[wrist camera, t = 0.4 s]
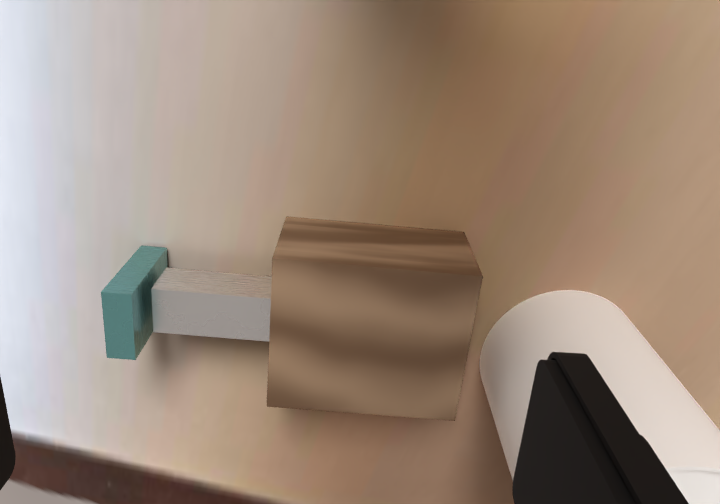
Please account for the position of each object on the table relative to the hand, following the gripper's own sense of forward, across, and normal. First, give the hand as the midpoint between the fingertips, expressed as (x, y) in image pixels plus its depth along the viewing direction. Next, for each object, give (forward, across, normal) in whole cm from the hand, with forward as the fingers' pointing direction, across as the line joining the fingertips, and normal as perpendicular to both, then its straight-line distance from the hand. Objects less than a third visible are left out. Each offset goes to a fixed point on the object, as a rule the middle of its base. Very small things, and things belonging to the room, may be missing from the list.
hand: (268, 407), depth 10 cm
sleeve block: (+36, -3, +15) cm, 39 cm away
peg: (+36, +8, +15) cm, 39 cm away
